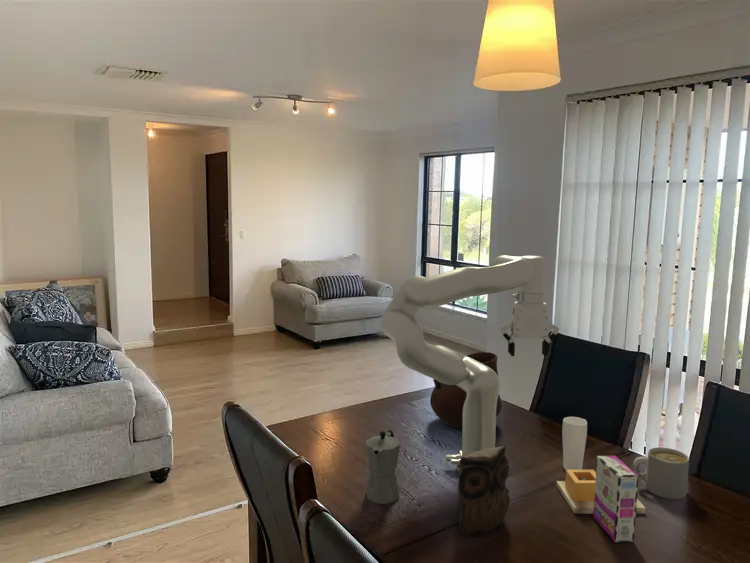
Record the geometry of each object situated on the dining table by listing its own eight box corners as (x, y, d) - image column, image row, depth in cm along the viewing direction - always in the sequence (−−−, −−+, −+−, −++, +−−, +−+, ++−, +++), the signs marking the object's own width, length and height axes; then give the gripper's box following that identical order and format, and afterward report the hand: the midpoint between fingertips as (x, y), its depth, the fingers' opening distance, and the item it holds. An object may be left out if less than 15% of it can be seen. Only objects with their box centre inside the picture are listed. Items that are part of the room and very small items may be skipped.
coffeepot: (392, 511, 144) (393, 444, 142) (358, 505, 147) (357, 439, 145) (407, 482, 159) (408, 421, 156) (375, 478, 162) (375, 417, 159)
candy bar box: (635, 542, 131) (640, 475, 129) (614, 543, 130) (618, 476, 128) (611, 516, 142) (615, 454, 140) (592, 517, 141) (595, 454, 139)
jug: (431, 408, 216) (432, 344, 213) (498, 411, 213) (500, 347, 210) (428, 434, 192) (429, 363, 189) (504, 438, 188) (506, 366, 185)
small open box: (574, 501, 146) (575, 483, 145) (565, 487, 153) (565, 469, 153) (603, 501, 146) (604, 482, 145) (592, 486, 153) (593, 469, 153)
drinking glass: (586, 475, 163) (589, 426, 161) (562, 473, 164) (564, 424, 162) (582, 465, 169) (585, 417, 167) (559, 463, 171) (561, 415, 169)
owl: (510, 519, 141) (512, 442, 138) (502, 547, 129) (504, 464, 126) (460, 509, 145) (461, 434, 142) (447, 535, 134) (449, 455, 131)
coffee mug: (687, 486, 156) (690, 452, 155) (684, 502, 148) (687, 466, 147) (635, 474, 164) (637, 441, 162) (629, 489, 155) (632, 454, 154)
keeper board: (574, 513, 143) (575, 492, 142) (556, 486, 157) (557, 466, 156) (645, 513, 143) (646, 492, 142) (621, 486, 157) (622, 466, 156)
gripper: (503, 300, 161) (501, 358, 163) (564, 300, 161) (561, 358, 163) (497, 296, 169) (496, 351, 171) (555, 296, 169) (553, 351, 171)
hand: (528, 355), depth 167 cm, fingers open, 9 cm apart
